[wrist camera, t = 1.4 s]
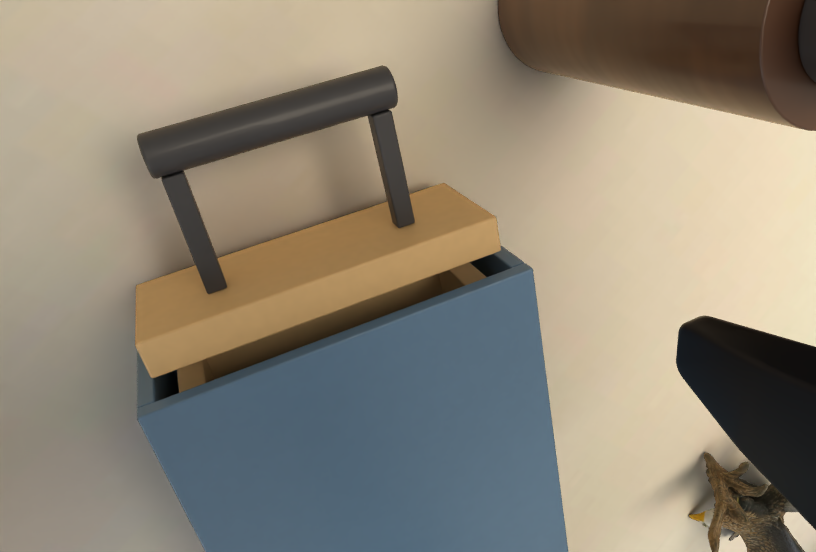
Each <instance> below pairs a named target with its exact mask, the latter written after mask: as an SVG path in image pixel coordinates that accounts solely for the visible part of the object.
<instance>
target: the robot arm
mask: <svg viewBox="0 0 816 552" xmlns="http://www.w3.org/2000/svg"><path fill="white" fill-rule="evenodd" d="M676 364H677V368H678V371H679V373H680V374H681V376H682V377H683V379H684V380H685V381H686V383H687V384H688V385H689V386H690V388H691V389H692V390H693V392H694V393H695V394H696V395H697V397H698V398H699V399H700V400H701V402H702V403H703V404H704V406H705V407H706V408H707V409H708V411H709V412H710V413H711V414H712V416H713V417H714V418H715V420H716V421H717V422H718V423H719V425H720V426H721V427H722V429H723V430H724V431H725V432H726V434H727V435H728V436H729V437H730V439H731V440H732V441H733V442H734V444H735V445H736V446H737V447H738V448H739V450H740V451H741V452H742V453H743V454H744V455H745V456H746V457H747V458H748V460H749V461H750V462H751V463H752V464H753V465H754V466H755V467H756V468H757V469H758V470H759V471H760V472H761V473H762V474H763V475H764V476H765V477H766V479H767V480H768V481H769V482H770V483H771V484H772V485H773V486H774V487H775V488H776V489H777V490H778V491H779V492H780V493H781V494H782V495H783V496H784V497H785V498H786V499H787V500H788V501H789V503H790V504H791V505H792V506H793V507H794V508H795V509H796V510H797V511H798V512H799V513H800V514H801V515H802V516H803V517H804V518H805V519H806V520H807V521H808V522H809V523H810V524H811V525H812V527H813V528H814V529H815V530H816V347H814V346H810V345H807V344H804V343H800V342H797V341H793V340H790V339H786V338H783V337H779V336H776V335H772V334H769V333H765V332H762V331H759V330H755V329H752V328H748V327H745V326H741V325H738V324H734V323H731V322H727V321H724V320H721V319H717V318H714V317H710V316H700V317H697V318H695V319H693V320H691V321H688V322H686V323H684V324H683V325H682V326H681V327H680V329H679V334H678V345H677V356H676Z"/></svg>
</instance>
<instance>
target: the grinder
mask: <svg viewBox="0 0 816 552" xmlns="http://www.w3.org/2000/svg"><path fill="white" fill-rule="evenodd" d="M498 12H499V21H500V26H501V29H502V33H503V36H504V38H505V40H506V42H507V44H508V46H509V48H510V49H511V51H512V52H513V53H514V54H515V56H516V57H517V58H518V59H519V60H520V61H522V62H523V63H524V64H526V65H527V66H529V67H531V68H533V69H535V70H538V71H543V72H547V73H552V74H556V75H561V76H565V77H570V78H574V79H579V80H583V81H588V82H592V83H597V84H601V85H606V86H610V87H615V88H619V89H624V90H628V91H633V92H637V93H642V94H646V95H651V96H655V97H660V98H664V99H669V100H673V101H678V102H682V103H687V104H691V105H696V106H700V107H705V108H709V109H714V110H718V111H723V112H727V113H732V114H736V115H741V116H745V117H750V118H754V119H759V120H763V121H768V122H772V123H777V124H781V125H786V126H790V127H795V128H799V129H804V130H808V131H816V0H498Z"/></svg>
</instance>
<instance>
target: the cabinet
mask: <svg viewBox="0 0 816 552" xmlns="http://www.w3.org/2000/svg"><path fill="white" fill-rule="evenodd" d="M500 246H501V245H500ZM469 263H471V264H472V265H473V266H474V267H475V268H476V269H478V270H479V271H480V272H481V273H482V274H484V275H485V276H486V277H487V278H484V279H481V280H479V281H476V282H473V283H471V284H468V285H465V286H463V287H460V288H457V289H455V290H452V291H449V292H447V293H444V294H441V295H439V296H436V297H433V298H431V299H428V300H425V301H423V302H420V303H417V304H415V305H412V306H409V307H407V308H404V309H401V310H399V311H396V312H393V313H391V314H388V315H385V316H383V317H380V318H377V319H375V320H372V321H369V322H367V323H364V324H361V325H359V326H356V327H353V328H351V329H348V330H345V331H343V332H340V333H337V334H335V335H332V336H329V337H327V338H324V339H321V340H319V341H316V342H313V343H311V344H308V345H305V346H303V347H300V348H297V349H295V350H292V351H289V352H287V353H284V354H281V355H279V356H276V357H273V358H271V359H268V360H265V361H263V362H260V363H258V364H255V365H252V366H250V367H247V368H244V369H242V370H239V371H236V372H234V373H231V374H228V375H226V376H223V377H220V378H218V379H215V380H212V381H210V382H207V383H204V384H202V385H199V386H196V387H194V388H191V389H188V390H186V391H183V392H180V393H179V387H178V377H177V370H175V371H172V372H169V373H167V374H164V375H161V376H158V377H156V378H151V377H150V375H149V373H148V371H147V369H146V367H145V365H144V363H143V361H142V358H141V356H140V354H139V352H138V350H137V420H138V422H139V424H140V426H141V428H142V429H143V431H144V433H145V435H146V437H147V439H148V441H149V443H150V445H151V447H152V449H153V451H154V453H155V455H156V457H157V459H158V461H159V462H160V464H161V466H162V468H163V470H164V472H165V474H166V476H167V478H168V480H169V482H170V484H171V486H172V488H173V490H174V492H175V494H176V495H177V497H178V499H179V501H180V503H181V505H182V507H183V509H184V511H185V513H186V515H187V517H188V519H189V521H190V523H191V525H192V527H193V528H194V530H195V532H196V534H197V536H198V538H199V540H200V542H201V544H202V546H203V548H204V550H205V552H568V546H567V538H566V530H565V522H564V514H563V506H562V498H561V490H560V482H559V474H558V466H557V458H556V450H555V442H554V434H553V426H552V418H551V411H550V403H549V395H548V387H547V379H546V371H545V363H544V355H543V347H542V339H541V331H540V323H539V315H538V307H537V299H536V291H535V283H534V275H533V269H532V268H531V267H530V266H528V265H527V264H525V263H524V262H523V261H522V260H520V259H519V258H517V257H516V256H515V255H513V254H512V253H511V252H509V251H508V250H506V249H505V248H504V247H502V246H501V250H500V251H499V252H496V253H494V254H491V255H488V256H485V257H483V258H480V259H477V260H475V261H472V262H469Z"/></svg>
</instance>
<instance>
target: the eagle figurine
mask: <svg viewBox="0 0 816 552" xmlns="http://www.w3.org/2000/svg"><path fill="white" fill-rule="evenodd" d="M704 458H705V461H706V467H707V468H708V469H707V471H706V473H707V476H708V477H709V480H708V481H709V482H710V483H711V485H712V489H713V490H714V497H715V500H716V503H715V508H714V509H710V510H706V511H704V512H702V513H700V514H689V517H690V518H691V519H693V520H697V521H699V522H701V523H702V525H703V526H705V527H709V531H708V539H709V543H710V547H711V550H712V552H718V550H719V542H720V539H719V538H720V535H721V528H724V529H730V530H732V531H734V532H735V533H734V534H733V535H732V536H731V537H730V538H729V540H730V541H731V540H733V539H734V537H738V536H739V535H740V536H741V537H742V539H743V541H744V542H745V544H746V547H747V552H805V551H804V550H803V549H802V547H801V546H800V545H799V544H798V542H797V541H796V540H795V538H794V537H793V536H792V534H791V533H790V531H789V529H788V528H787V526H785V525H784V519H783V516H784V514H785V512H798V511H797V510H796V509H795V508H794V507H793V506H792V505H791V504H790V503H789V501H788V500H787V499H786V498H785V497H784V496H783V495H782V494H781V493H780V492H779V491H778V490H777V489H776V488H775V487H774V486H773V485H772V484H770V485H769V486H768V485H767V484H764V485H763V486H757V485H753V484H751V483H748V482H747V481H745V480H743V479H740V478H739V477H740V476H741V475H743V474H744V473H746V471H747V470H748V468H749V463H748V462H743V463H741V464H740V466H739V468H738V469H736V470H734V471H732V472H728V471H726V470H725V469H724V468H722V467H721V466H720V465H719V464H718V463H717V462H716V461H715V459H714V458H713V457H712V456H711V455H710V454H709V453H707V452H705V453H704Z"/></svg>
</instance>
